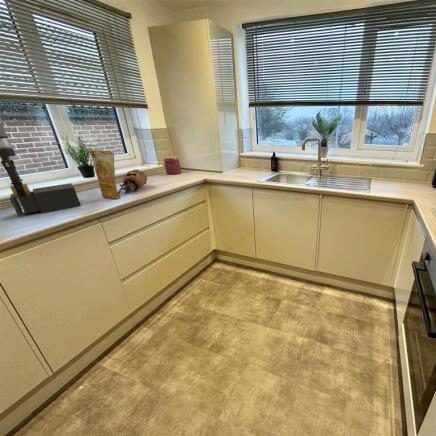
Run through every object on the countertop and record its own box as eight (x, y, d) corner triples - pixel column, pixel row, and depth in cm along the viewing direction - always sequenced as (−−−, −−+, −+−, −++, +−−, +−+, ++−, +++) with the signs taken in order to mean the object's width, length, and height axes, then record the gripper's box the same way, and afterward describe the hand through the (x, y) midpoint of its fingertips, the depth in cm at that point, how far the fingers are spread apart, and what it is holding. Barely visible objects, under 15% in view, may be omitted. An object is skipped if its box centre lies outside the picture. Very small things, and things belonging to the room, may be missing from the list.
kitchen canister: (185, 172, 219) (181, 152, 213) (176, 175, 208) (171, 154, 201) (172, 171, 222) (168, 152, 215) (163, 174, 210) (158, 154, 203)
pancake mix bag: (109, 193, 155) (95, 149, 145) (127, 197, 148) (113, 150, 137) (98, 196, 150) (82, 150, 139) (116, 200, 142) (101, 151, 131)
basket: (-1, 219, 114) (-11, 202, 110) (1, 213, 122) (-8, 196, 118) (57, 208, 127) (51, 192, 124) (56, 203, 135) (49, 188, 132)
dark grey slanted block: (42, 213, 123) (32, 193, 119) (41, 207, 132) (32, 188, 128) (81, 205, 133) (73, 187, 129) (77, 201, 142) (71, 183, 138)
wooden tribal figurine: (109, 188, 148) (121, 168, 166) (125, 206, 158) (135, 186, 177) (132, 181, 148) (142, 162, 167) (147, 199, 159) (155, 180, 177)
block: (31, 195, 121) (26, 185, 119) (15, 198, 118) (10, 187, 116) (31, 193, 125) (26, 183, 123) (15, 196, 121) (10, 185, 119)
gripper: (11, 148, 109) (33, 197, 118) (13, 146, 121) (33, 190, 130) (-14, 150, 104) (11, 200, 113) (-9, 147, 116) (13, 193, 125)
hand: (23, 195), depth 121 cm, fingers closed on block, 5 cm apart
